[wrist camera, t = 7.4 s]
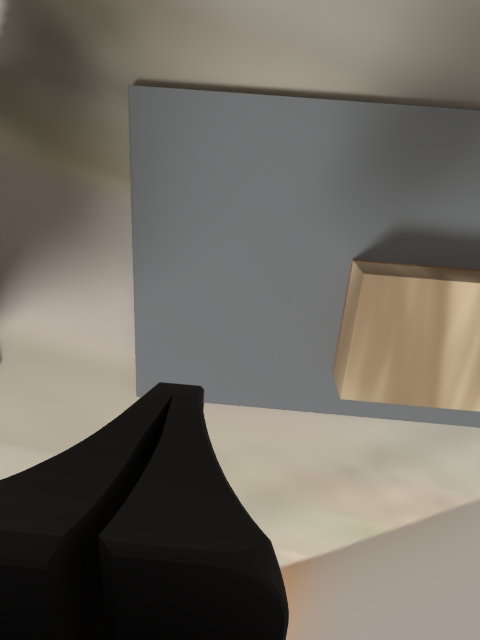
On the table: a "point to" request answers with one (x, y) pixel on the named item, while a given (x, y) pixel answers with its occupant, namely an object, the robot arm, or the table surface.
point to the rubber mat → (285, 234)
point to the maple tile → (410, 336)
